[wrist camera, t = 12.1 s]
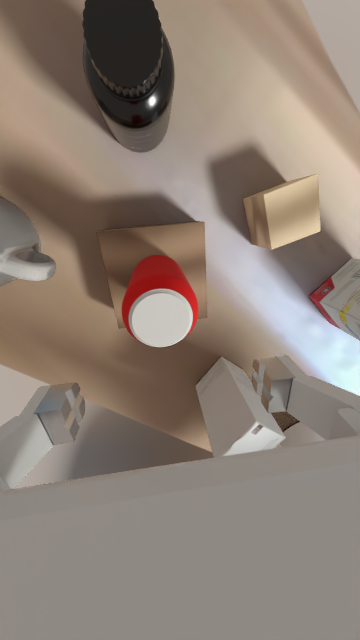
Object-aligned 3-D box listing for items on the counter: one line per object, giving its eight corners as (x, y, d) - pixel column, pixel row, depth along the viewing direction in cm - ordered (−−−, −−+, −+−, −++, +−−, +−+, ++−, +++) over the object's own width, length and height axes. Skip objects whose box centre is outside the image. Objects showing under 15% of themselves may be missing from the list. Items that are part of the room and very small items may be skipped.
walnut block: (200, 304, 34) (207, 317, 30) (123, 313, 33) (118, 328, 29) (196, 221, 29) (204, 221, 24) (105, 229, 28) (96, 232, 24)
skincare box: (216, 396, 43) (245, 477, 30) (192, 384, 41) (212, 465, 28) (244, 367, 41) (290, 440, 27) (221, 353, 39) (257, 424, 25)
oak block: (291, 228, 31) (320, 231, 25) (251, 244, 31) (271, 249, 26) (286, 181, 28) (317, 173, 23) (242, 199, 28) (263, 194, 23)
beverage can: (122, 283, 26) (101, 329, 16) (152, 241, 25) (152, 260, 14) (162, 311, 28) (168, 368, 18) (192, 274, 27) (219, 312, 16)
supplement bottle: (106, 63, 22) (61, -90, 11) (173, 84, 23) (191, -34, 12) (103, 146, 24) (65, 90, 14) (163, 161, 26) (171, 121, 15)
